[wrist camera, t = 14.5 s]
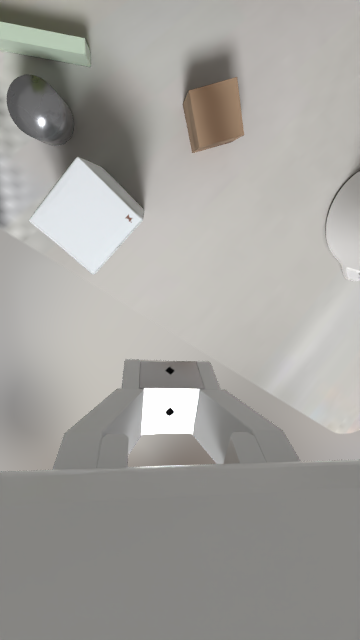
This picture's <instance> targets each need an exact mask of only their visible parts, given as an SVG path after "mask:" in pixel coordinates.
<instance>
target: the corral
mask: <svg viewBox="0 0 360 640" xmlns="http://www.w3.org/2000/svg"><path fill="white" fill-rule="evenodd" d="M0 50H1V51H6V52H12V53H17V54H23V55H28V56H33V57H39V58H44V59H50V60H55V61H61V62H66V63H71V64H77V65H82V66H88V67H91V59H90V50H89V48H88V45H87V43H86V40H85V38H81V37H76V36H71V35H66V34H61V33H56V32H50V31H45V30H40V29H35V28H30V27H25V26H20V25H15V24H10V23H5V22H0Z"/></svg>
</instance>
